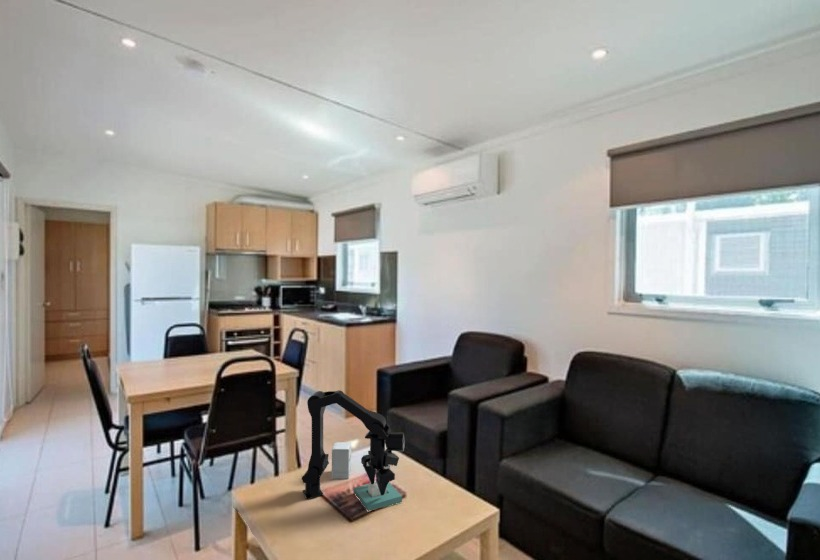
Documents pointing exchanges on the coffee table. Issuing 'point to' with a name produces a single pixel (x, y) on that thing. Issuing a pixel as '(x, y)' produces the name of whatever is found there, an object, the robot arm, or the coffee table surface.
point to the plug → (374, 490)
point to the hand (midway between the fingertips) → (377, 489)
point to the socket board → (377, 497)
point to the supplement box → (341, 460)
